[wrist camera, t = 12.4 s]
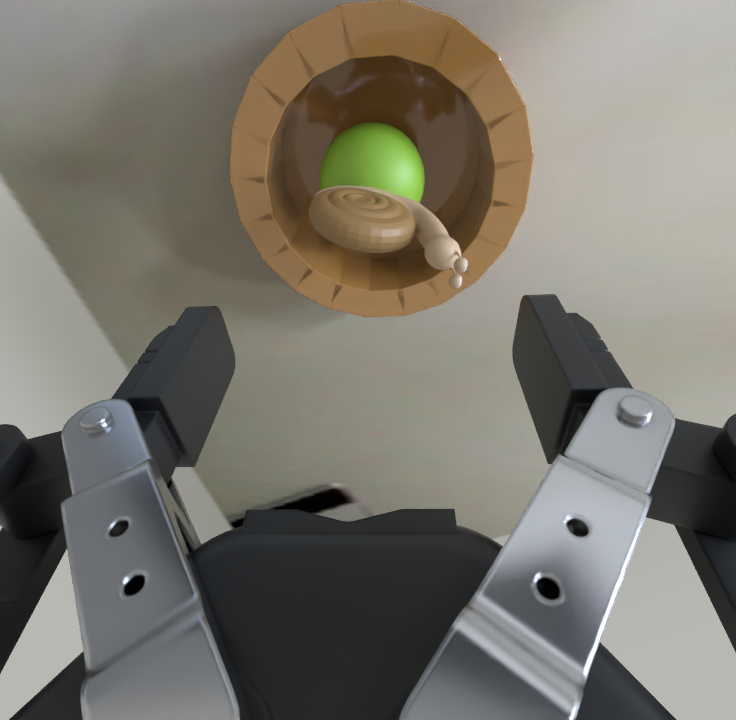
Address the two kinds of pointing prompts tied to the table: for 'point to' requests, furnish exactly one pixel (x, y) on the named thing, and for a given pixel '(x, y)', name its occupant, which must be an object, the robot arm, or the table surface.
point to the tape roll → (395, 108)
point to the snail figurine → (380, 198)
